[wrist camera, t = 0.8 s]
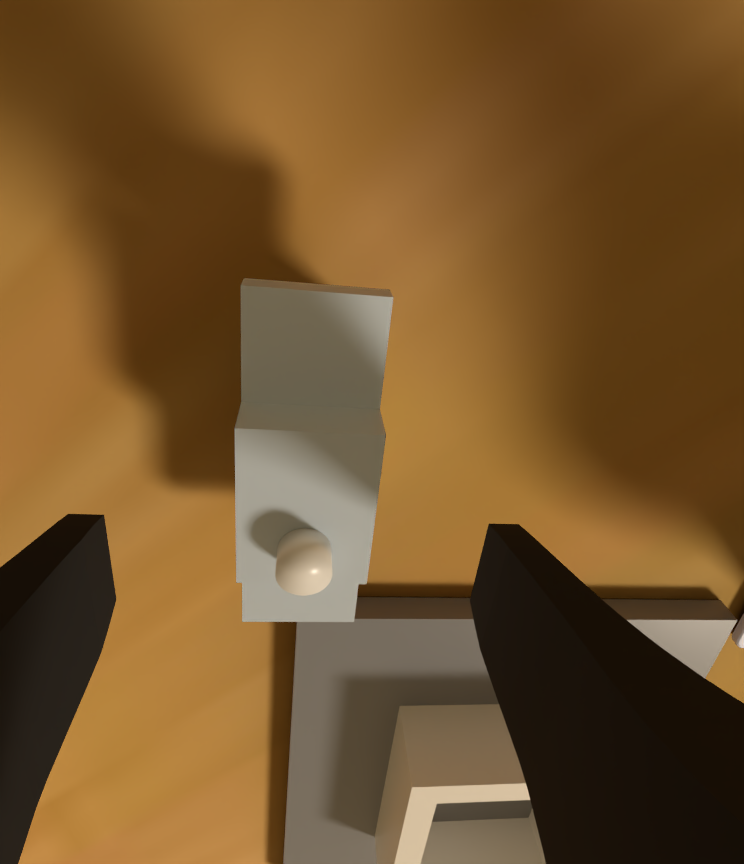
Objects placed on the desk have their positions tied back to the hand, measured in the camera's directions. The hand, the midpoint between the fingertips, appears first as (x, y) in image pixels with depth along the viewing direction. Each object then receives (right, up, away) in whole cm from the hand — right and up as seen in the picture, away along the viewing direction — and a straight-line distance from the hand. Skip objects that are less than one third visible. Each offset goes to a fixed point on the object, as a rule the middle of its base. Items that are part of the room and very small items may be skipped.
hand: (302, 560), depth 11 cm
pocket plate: (+6, -11, +14) cm, 19 cm away
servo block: (-1, +3, +6) cm, 6 cm away
